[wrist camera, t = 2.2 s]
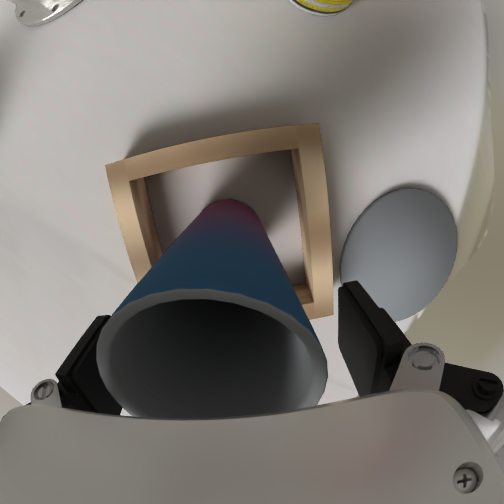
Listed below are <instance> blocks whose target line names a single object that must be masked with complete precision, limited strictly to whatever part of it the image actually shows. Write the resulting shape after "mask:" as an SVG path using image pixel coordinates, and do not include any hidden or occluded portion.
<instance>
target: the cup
mask: <svg viewBox="0 0 504 504" xmlns="http://www.w3.org/2000/svg"><path fill="white" fill-rule="evenodd" d="M96 360H97V364H98V368H99V372H100V376H101V378H102V380H103V382H104V384H105V386H106V388H107V390H108V391H109V392H110V393H111V395H112V396H113V397H114V399H115V400H116V401H117V402H118V403H119V404H120V405H121V406H122V407H123V408H124V409H125V410H126V411H127V412H128V413H129V414H131V415H132V416H133V417H149V418H216V417H233V416H245V415H256V414H265V413H273V412H280V411H287V410H293V409H299V408H306V407H311V406H316V405H317V404H318V402H319V400H320V398H321V397H322V395H323V393H324V391H325V386H326V382H327V378H328V369H327V360H326V357H325V354H324V352H323V349H322V347H321V344H320V342H319V340H318V338H317V336H316V334H315V332H314V329H313V327H312V325H311V323H310V321H309V319H308V317H307V315H306V313H305V311H304V309H303V307H302V305H301V303H300V301H299V298H298V296H297V294H296V292H295V290H294V288H293V286H292V284H291V282H290V280H289V278H288V276H287V274H286V272H285V270H284V268H283V266H282V264H281V262H280V260H279V258H278V256H277V254H276V252H275V250H274V248H273V246H272V244H271V242H270V240H269V238H268V236H267V234H266V232H265V230H264V228H263V226H262V224H261V222H260V220H259V218H258V216H257V215H256V214H255V212H254V211H253V210H252V209H251V208H250V207H249V206H247V205H246V204H244V203H242V202H240V201H237V200H231V199H227V200H220V201H216V202H214V203H212V204H210V205H209V206H207V207H206V208H205V209H204V210H203V211H202V212H201V213H200V214H199V215H198V216H197V217H196V218H195V219H194V221H193V222H192V223H191V224H190V225H189V226H188V227H187V228H186V229H185V230H184V231H183V232H182V234H181V235H180V236H179V237H178V238H177V239H176V240H175V241H174V242H173V243H172V245H171V246H170V247H169V248H168V249H167V250H166V251H165V252H164V254H163V255H162V256H161V257H160V258H159V259H158V260H157V262H156V263H155V264H154V265H153V266H152V267H151V268H150V270H149V271H148V272H147V273H146V274H145V275H144V277H143V278H142V279H141V280H140V281H139V283H138V284H137V285H136V286H135V287H134V289H133V290H132V291H131V292H130V293H129V295H128V296H127V297H126V298H125V299H124V301H123V302H122V303H121V304H120V306H119V307H118V308H117V309H116V311H115V312H114V313H113V314H112V316H111V317H110V318H109V320H108V321H107V322H106V324H105V325H104V327H103V328H102V330H101V333H100V336H99V339H98V342H97V357H96Z"/></svg>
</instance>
